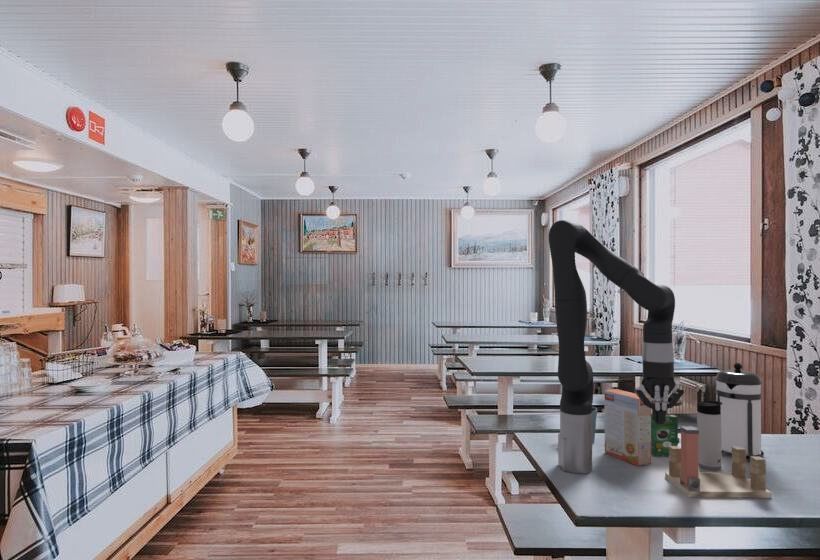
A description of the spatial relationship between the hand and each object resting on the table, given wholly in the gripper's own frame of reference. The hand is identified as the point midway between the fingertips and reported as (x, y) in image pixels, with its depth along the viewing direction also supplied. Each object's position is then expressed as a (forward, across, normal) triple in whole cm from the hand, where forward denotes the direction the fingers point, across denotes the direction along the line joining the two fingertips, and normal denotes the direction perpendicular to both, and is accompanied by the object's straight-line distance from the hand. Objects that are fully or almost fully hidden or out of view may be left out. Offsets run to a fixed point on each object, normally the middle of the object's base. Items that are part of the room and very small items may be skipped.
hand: (659, 423), depth 131 cm
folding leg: (+15, +8, 0) cm, 17 cm away
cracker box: (+19, +2, +26) cm, 32 cm away
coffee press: (+19, +40, +31) cm, 54 cm away
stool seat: (+19, +17, +4) cm, 25 cm away
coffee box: (+19, +15, +29) cm, 38 cm away
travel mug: (+19, +24, +19) cm, 36 cm away
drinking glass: (+18, -7, +43) cm, 47 cm away
